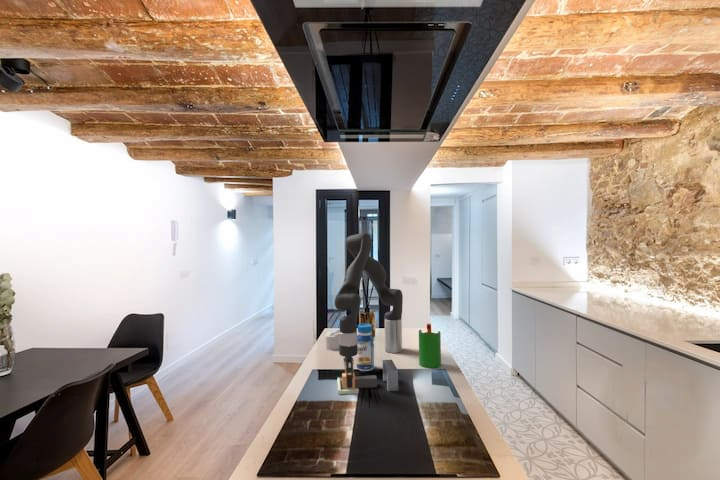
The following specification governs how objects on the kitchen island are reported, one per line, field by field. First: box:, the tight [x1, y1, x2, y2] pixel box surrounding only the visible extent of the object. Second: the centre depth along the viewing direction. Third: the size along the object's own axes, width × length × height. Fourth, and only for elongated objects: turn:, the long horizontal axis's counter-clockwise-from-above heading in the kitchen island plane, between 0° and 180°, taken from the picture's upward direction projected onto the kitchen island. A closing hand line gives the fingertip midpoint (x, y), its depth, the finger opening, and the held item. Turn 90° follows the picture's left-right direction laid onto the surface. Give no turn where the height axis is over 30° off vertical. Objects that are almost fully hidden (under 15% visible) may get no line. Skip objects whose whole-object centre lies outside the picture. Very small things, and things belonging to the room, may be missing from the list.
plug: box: [341, 372, 378, 390], centre depth 133 cm, size 14×4×5 cm, turn 96°
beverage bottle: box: [356, 323, 375, 372], centre depth 152 cm, size 8×8×20 cm
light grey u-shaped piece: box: [336, 377, 360, 395], centre depth 132 cm, size 12×8×2 cm, turn 6°
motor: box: [418, 322, 442, 369], centre depth 156 cm, size 10×9×20 cm
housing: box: [382, 359, 399, 392], centre depth 134 cm, size 4×12×8 cm, turn 6°
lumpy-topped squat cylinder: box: [325, 329, 340, 351], centre depth 185 cm, size 10×13×9 cm
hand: (348, 382), depth 133 cm, fingers open, 8 cm apart
